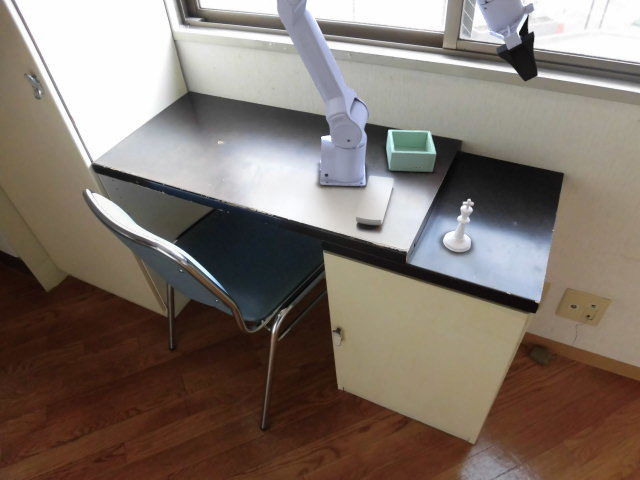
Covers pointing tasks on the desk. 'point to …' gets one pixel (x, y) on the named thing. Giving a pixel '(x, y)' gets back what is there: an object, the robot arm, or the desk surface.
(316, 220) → the desk surface
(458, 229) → the chess piece
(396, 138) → the open storage box
